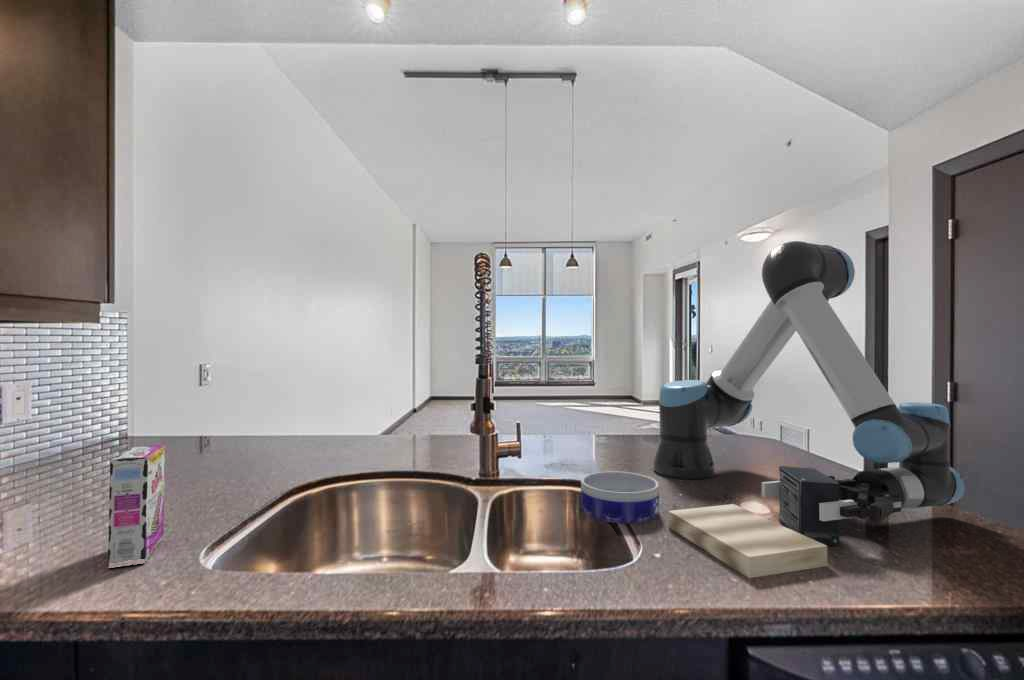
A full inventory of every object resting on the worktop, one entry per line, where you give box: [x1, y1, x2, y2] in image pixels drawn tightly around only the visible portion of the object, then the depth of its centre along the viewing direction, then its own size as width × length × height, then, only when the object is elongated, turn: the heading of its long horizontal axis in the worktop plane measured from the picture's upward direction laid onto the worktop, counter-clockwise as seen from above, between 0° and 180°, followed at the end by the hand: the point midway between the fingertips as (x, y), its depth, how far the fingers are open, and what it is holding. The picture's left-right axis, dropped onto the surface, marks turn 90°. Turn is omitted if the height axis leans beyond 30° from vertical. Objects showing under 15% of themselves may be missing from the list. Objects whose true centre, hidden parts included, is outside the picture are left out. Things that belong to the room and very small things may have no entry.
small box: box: [778, 465, 840, 546], centre depth 86 cm, size 11×6×10 cm, turn 169°
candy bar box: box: [107, 445, 166, 564], centre depth 79 cm, size 11×5×16 cm, turn 23°
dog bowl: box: [580, 470, 660, 525], centre depth 98 cm, size 15×15×6 cm
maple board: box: [667, 503, 828, 579], centre depth 81 cm, size 20×14×3 cm
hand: (790, 500), depth 85 cm, fingers closed on small box, 12 cm apart
